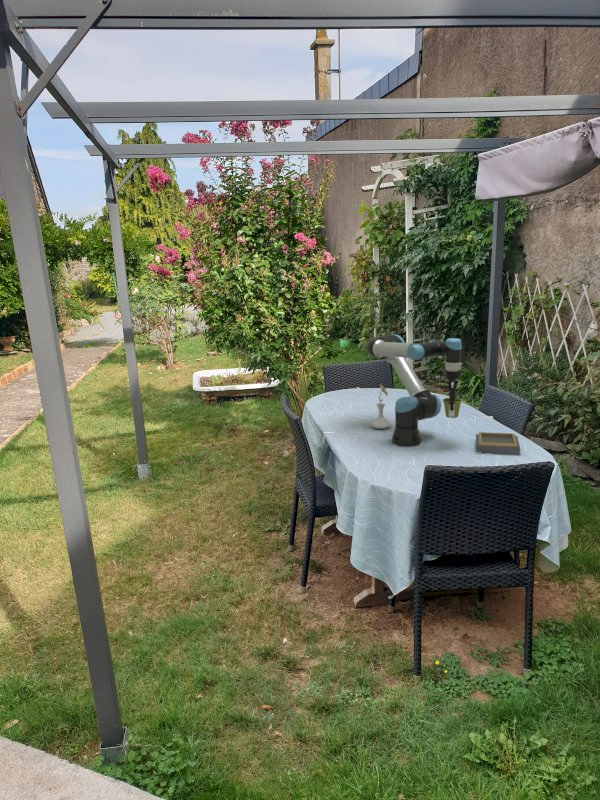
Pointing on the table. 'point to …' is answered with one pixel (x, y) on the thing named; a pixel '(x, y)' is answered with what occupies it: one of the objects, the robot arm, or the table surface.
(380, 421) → the flower in vase
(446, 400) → the plant pot
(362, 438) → the table surface
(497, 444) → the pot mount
